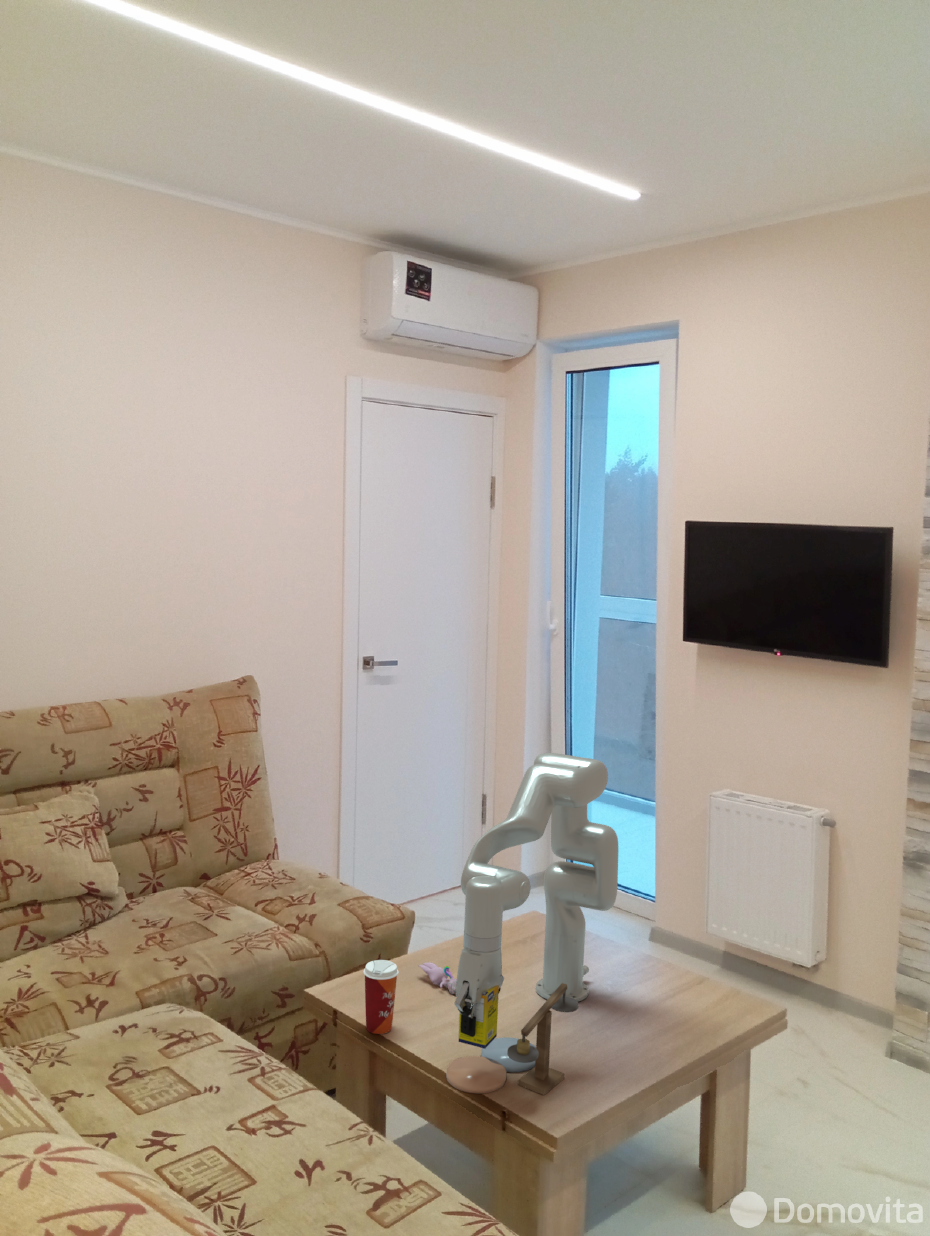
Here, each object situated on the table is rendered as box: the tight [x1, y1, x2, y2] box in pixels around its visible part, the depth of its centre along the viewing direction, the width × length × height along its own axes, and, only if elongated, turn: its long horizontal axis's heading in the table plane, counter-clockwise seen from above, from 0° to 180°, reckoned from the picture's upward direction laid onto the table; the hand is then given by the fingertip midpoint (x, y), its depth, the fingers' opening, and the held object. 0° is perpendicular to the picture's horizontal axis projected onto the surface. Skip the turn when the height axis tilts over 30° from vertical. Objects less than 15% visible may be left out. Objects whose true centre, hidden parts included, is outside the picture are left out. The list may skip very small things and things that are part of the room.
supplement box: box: [458, 985, 500, 1049], centre depth 200 cm, size 6×6×11 cm
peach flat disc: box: [445, 1055, 507, 1095], centre depth 201 cm, size 12×12×1 cm
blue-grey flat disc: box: [481, 1036, 536, 1073], centre depth 209 cm, size 12×12×1 cm
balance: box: [507, 983, 579, 1096], centre depth 200 cm, size 21×6×18 cm, turn 145°
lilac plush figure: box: [417, 961, 457, 995], centre depth 241 cm, size 6×6×15 cm
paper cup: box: [362, 959, 399, 1035], centre depth 219 cm, size 8×8×14 cm
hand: (478, 1026), depth 200 cm, fingers closed on supplement box, 6 cm apart
